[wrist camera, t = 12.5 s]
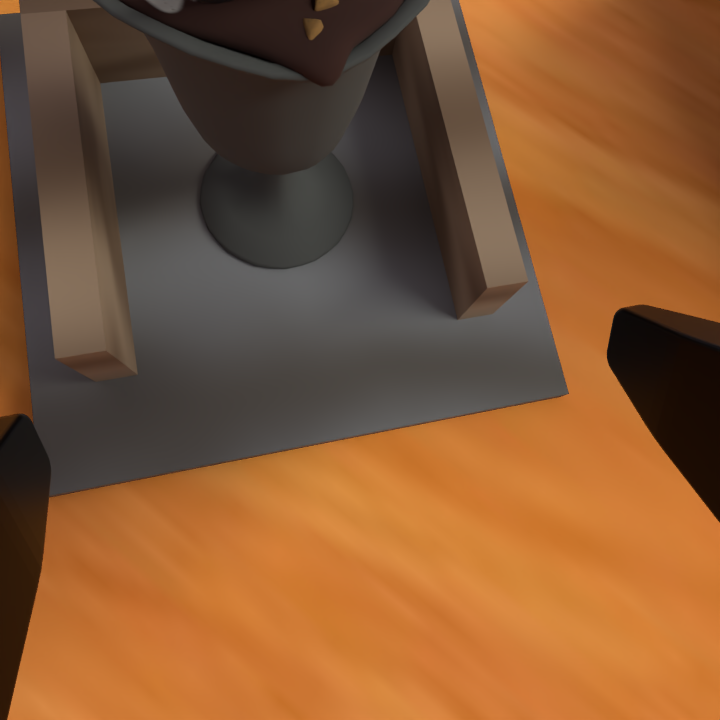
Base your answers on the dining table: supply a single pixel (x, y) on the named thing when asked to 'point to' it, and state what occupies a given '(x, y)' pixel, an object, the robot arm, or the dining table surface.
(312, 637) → the dining table surface
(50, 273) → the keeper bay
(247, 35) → the sundae
